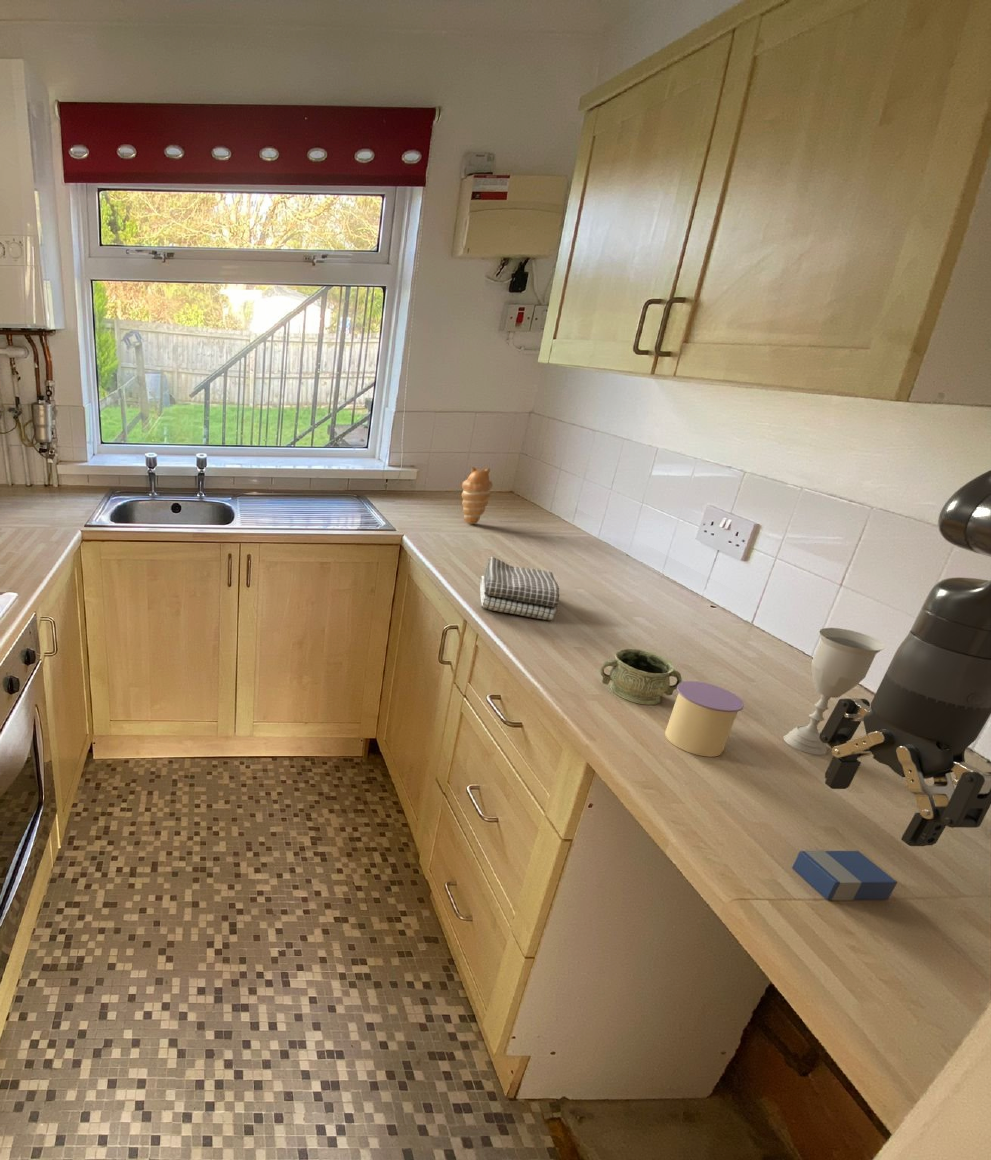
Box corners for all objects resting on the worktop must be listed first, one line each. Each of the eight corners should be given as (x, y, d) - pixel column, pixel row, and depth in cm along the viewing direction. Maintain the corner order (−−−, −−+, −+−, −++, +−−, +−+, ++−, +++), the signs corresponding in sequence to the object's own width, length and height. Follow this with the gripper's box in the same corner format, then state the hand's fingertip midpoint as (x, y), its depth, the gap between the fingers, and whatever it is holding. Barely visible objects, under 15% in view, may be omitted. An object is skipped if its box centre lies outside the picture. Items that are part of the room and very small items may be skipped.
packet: (848, 867, 74) (858, 849, 73) (888, 900, 70) (898, 882, 69) (791, 867, 74) (799, 850, 73) (827, 900, 70) (836, 882, 69)
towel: (479, 613, 139) (485, 579, 136) (478, 583, 155) (484, 553, 152) (556, 624, 134) (564, 590, 131) (547, 593, 150) (554, 562, 147)
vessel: (668, 687, 111) (678, 655, 109) (682, 713, 104) (694, 680, 101) (591, 673, 115) (600, 642, 113) (599, 698, 108) (609, 665, 105)
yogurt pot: (720, 736, 98) (738, 689, 95) (730, 765, 92) (749, 716, 88) (659, 721, 102) (674, 676, 98) (664, 747, 95) (680, 700, 92)
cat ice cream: (484, 521, 205) (494, 466, 198) (486, 528, 198) (497, 471, 191) (455, 519, 207) (464, 464, 200) (456, 526, 200) (466, 469, 193)
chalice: (825, 764, 92) (876, 655, 85) (768, 740, 97) (811, 635, 91) (841, 748, 96) (891, 641, 89) (785, 725, 101) (829, 623, 94)
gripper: (1068, 727, 56) (980, 866, 62) (903, 649, 69) (843, 770, 75) (986, 726, 56) (906, 865, 62) (836, 648, 69) (782, 770, 75)
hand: (872, 813), depth 68 cm, fingers open, 8 cm apart
